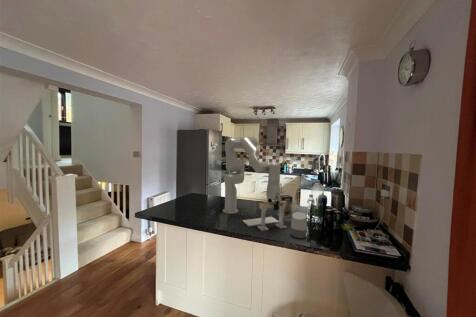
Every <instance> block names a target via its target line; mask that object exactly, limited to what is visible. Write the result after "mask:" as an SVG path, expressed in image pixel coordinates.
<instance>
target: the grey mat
mask: <svg viewBox="0 0 476 317" xmlns="http://www.w3.org/2000/svg"><path fill="white" fill-rule="evenodd" d="M242 221H243V223H244V224H246V226H248V227H251V226H252V227H255V226H261V217H258V218H250V219H242ZM274 223H275V224H277V223H279V219H276V218H275V217H273V216H267V217H266V216H265V225H267V224H274Z"/></svg>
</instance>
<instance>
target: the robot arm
mask: <svg viewBox="0 0 476 317" xmlns="http://www.w3.org/2000/svg"><path fill="white" fill-rule="evenodd" d="M258 144H259V143H258V140H257V138H255V137H251V136H244V137H240V138H239V137H230V138H227V140H225V143H224V150H225V168H226V171H227V172H228V173H226V174H225V175H224V177H223V180H224V195H225V196H224V208H223V209H222V212H223V213H225V214H228V215H229V214H230V215H231V214H237V213H239V209H238V208H237V205H238V204H237V195H238V189H237V186H236V185H239V184H242V183H244V180H245V164H244V161H243V160H242V159H240V158H237V152H236V150H237V149H238V150H243V151H245V153H246V154H247V155H248V161H249V165H250V167H251V168H252V169H253V170H254V171H255V172H256V173H257V174H265V173H266V174H267V173H268V176H267V177H268V179H267V185H266V194H265V195H266V198H267V202H275V204H274V208H273V210H274V211H278V210H279V203H280V201H281V198H280V195H281V187H280V186H281V184H280V183H281V164H280V163H279V162H271V161H260V160H259V159H258V158H257V156H258V154H259V152H260V150H259V148H258V147H257V146H258ZM235 149H236V150H235Z"/></svg>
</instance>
